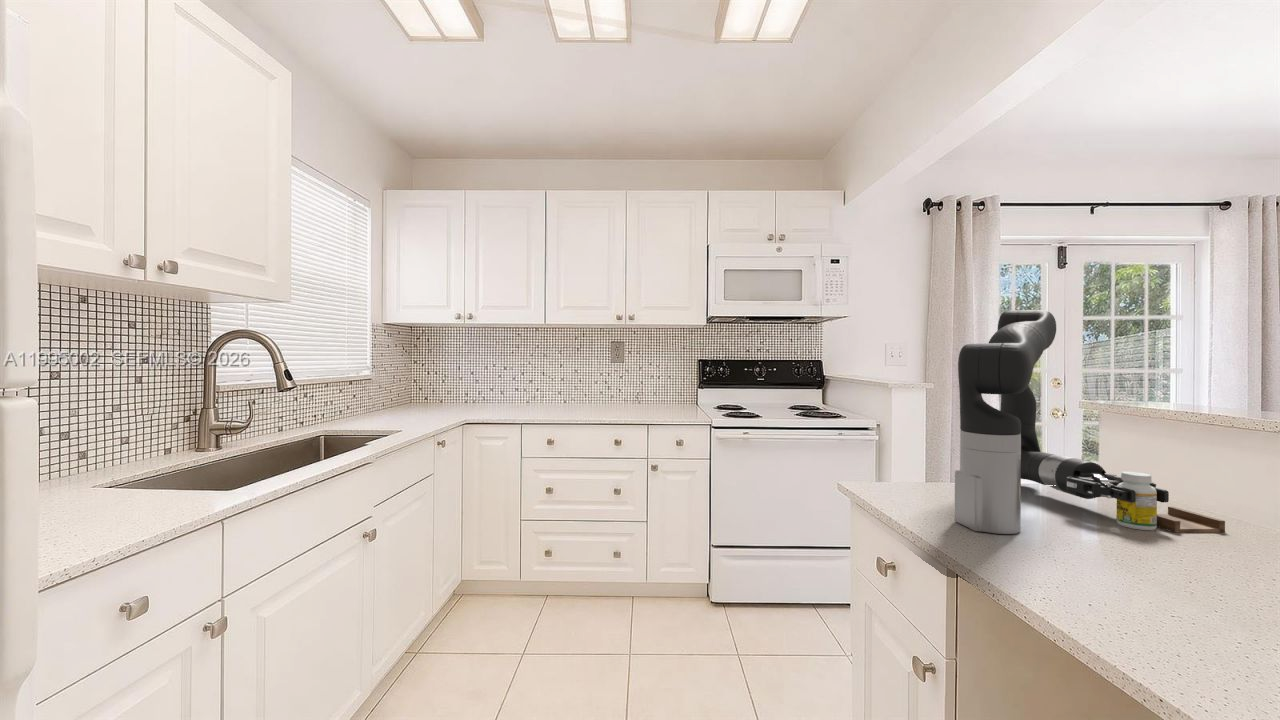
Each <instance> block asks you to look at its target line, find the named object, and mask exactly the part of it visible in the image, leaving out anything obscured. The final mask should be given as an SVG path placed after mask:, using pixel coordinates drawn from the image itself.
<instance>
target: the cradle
mask: <svg viewBox="0 0 1280 720" xmlns="http://www.w3.org/2000/svg"><path fill="white" fill-rule="evenodd" d="M1157 528H1161V529H1163V530H1166V531H1168V532H1171V533H1226V520H1224V519H1219V518H1215V517H1212V516H1208V515H1205V514H1201V513H1197V512H1195V511H1191V510H1186V509H1184V508H1180V507H1176V506H1167V513H1157Z"/></svg>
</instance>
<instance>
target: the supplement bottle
mask: <svg viewBox="0 0 1280 720" xmlns="http://www.w3.org/2000/svg"><path fill="white" fill-rule="evenodd" d="M1120 474H1121V476H1120V477H1121V478H1122V480H1123V482H1122V483H1119V484H1118V485H1117V486H1120V487H1123V488H1127V489H1131V490H1134V491H1135V493H1136V501H1135V502H1126V501H1123V500H1119V499H1116V523H1117V524H1118V525H1119V526H1121V527H1126V528H1129V529H1134V530H1141V531H1155V530H1157V528H1158V527H1157V514H1158V509H1157V507H1158V501H1157V491H1156V489H1155V488H1154V487H1152V486H1150V485H1149V484H1150V483H1151V482H1152V480H1153V479H1152V474H1149V473H1145V472H1138V471H1125V470H1124V471H1121V473H1120ZM1152 483H1153V482H1152Z"/></svg>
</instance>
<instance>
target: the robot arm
mask: <svg viewBox="0 0 1280 720" xmlns="http://www.w3.org/2000/svg"><path fill="white" fill-rule="evenodd" d="M1056 335H1057V321H1056V318H1055V316H1054V315H1053V314H1052V313H1051V312H1050V311H1048V310H1044V309H1043V310H1042V309H1015V310H1012V309H1011V310H1004V311H1002V313H1001V314H1000V316H999V318H998V323H997V331H996V332H994V334H993V335H991V337H990V339H989V341H988V342H985V343H984V342H983V343H982V342H981V343H980V342H979V343H967V344H964V345H963V346H962V347H961V349H960V351H959V354H958V363H957V375H958V386H959V387H958V390H959V391H958V392H959V420H960V424H959V426H960V428H959V433H960V434H959V435H960V436H959V438H960V439H959V469H958V470H957V469H956V470H955V472H954V522H956V523H957V524H960V525H962V526H964V527H967V528H968V529H970V530H972V531H974V532H982V533H983V532H984V533H989V534H999V535H1014V534H1018V533H1020V532H1021V527H1022V525H1021V523H1022V522H1021V521H1022V517H1021V516H1022V515H1021V510H1022V508H1021V507H1022V506H1021V505H1022V503H1021V502H1022V501H1021V500H1022V498H1021V497H1022V493H1021V492H1022V491H1021V490H1022V488H1021V487H1022V483H1021V481H1022V480H1027V481H1031V482H1034V483H1037V484H1041V485H1043V486H1046V485H1053V486H1048V487H1050V488H1052V489H1054V490H1056V491H1058V492H1059V491H1060V492H1061V493H1066V494H1069V495H1072V496H1075V497H1079V498H1081V499H1087V500H1093V499H1097V498H1107V499H1116V500H1117V499H1119V500H1123V501H1126V502H1135V501H1136V493H1135V491H1134V490H1131V489H1127V488H1123V487H1120V486H1117V485H1118V484H1119V483H1122V482H1123V480H1122V478H1121V476H1120V475H1119V476H1118V475H1117V474H1115V473H1107V472H1106V470H1105V469H1104V468H1103V467H1102V466H1101V465H1100V464H1098V463H1096V462H1094V461H1089V460H1084V459H1081V458H1076V457H1071V456H1066V455H1057V454H1053V453H1050V452H1049V453H1048V452H1043V451H1041V448H1040V445H1039V440H1038V435H1037V433H1036V432H1037V431H1036V423H1037V400H1036V396H1035V394H1034V393H1033V390H1032V388H1030V386H1029V385H1030V382H1031V379H1032V376H1033V371H1034V368H1035V365H1036V364H1037V362H1038V361H1039V360H1040V359H1041V357H1042V355H1043V354H1044V351H1045V350H1047V349H1049V348H1050V346H1051V345H1052V344H1053V342H1054V341H1055V337H1056ZM983 395H1000V408H999V409H997V408H995V407H993V406H992V405H990V404H988V403H987V402H986V401H985V400H984V398H983ZM1054 485H1056V486H1054ZM1149 485H1150V486H1152V487H1154V488H1155V489H1156V491H1157V502H1160V503H1169V498H1170V497H1169V496H1170V495H1169V491H1168V490H1167V489H1163V488H1159V487H1157V483H1155V482H1151V483H1150V484H1149Z"/></svg>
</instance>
